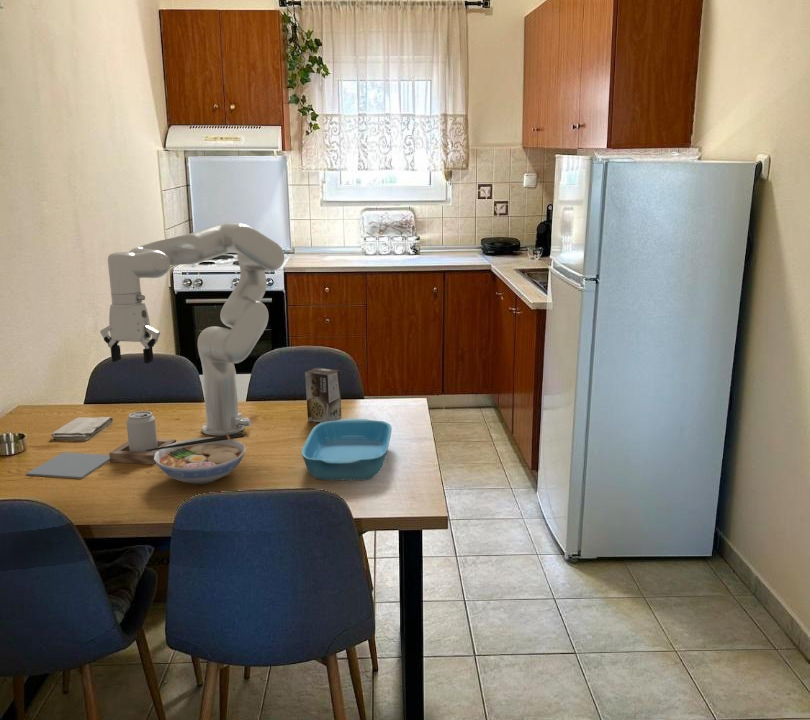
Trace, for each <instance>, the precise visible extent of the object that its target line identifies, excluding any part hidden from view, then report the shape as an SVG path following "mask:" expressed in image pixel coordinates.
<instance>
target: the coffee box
mask: <svg viewBox="0 0 810 720" xmlns="http://www.w3.org/2000/svg"><path fill="white" fill-rule="evenodd" d="M340 373H341V371H340V370H338V369H330V368H326V367H315V368H312V369H309V370H307V371H304V374H305V375H304V377H305V378H304V379H305V380H304V381H305V392H306V396H305V397H306V411H307V421H308V422H310V421H314V422H313V423H315V422H320V423H323V422H328V421H337V420H340V419H343V417H342V402H341V401H342V400H341V398H342V397H341V394H342V393H341V374H340ZM320 423H319V424H320Z"/></svg>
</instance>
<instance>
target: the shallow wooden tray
mask: <svg viewBox="0 0 810 720" xmlns="http://www.w3.org/2000/svg"><path fill="white" fill-rule="evenodd" d="M175 442H177V439H172V438H168V439H167V438H157V445H158V448H160V447H165V446H167V445H170V444H173V443H175ZM159 450H160V449H159ZM159 450H153V451H152V452H150V453H148V452H131V451H129V442H128V440H127V441H126V442H124V443H123V444H121V445H119V446H118V447H116V448H115V449H113V450H112V451H110V452H109V453H108V455H109V456H110V461H109V462H111V463H123V464H124V463H127V464H144V465H156V464H157V463H156V462H155V460H154V456H155V453H156V452H157V451H159Z"/></svg>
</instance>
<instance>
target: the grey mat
mask: <svg viewBox="0 0 810 720" xmlns="http://www.w3.org/2000/svg"><path fill="white" fill-rule="evenodd" d="M109 462H110V456H109V454H98V453H81V452H67V451H66V452H65V451H64V452H61V453H59V454H58V455H56V456H54V457H52V458H51V459H49V460H47V461H45V462H44V463H42V464H40V465H39V466H37V467H34V468H33V469H31V470H29V471H28V472H26V476H34V477H35V476H36V477H48V478H49V477H50V478H51V477H52V478H63V479H64V478H65V479H80V480H81V479H82V480H83V479H84V478H85V477H87V476H89V475H90V474H92V473H94V472H95V471H96V470H98V469H100V468H101V467H102V466H105V464H107V463H109Z"/></svg>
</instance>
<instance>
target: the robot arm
mask: <svg viewBox="0 0 810 720" xmlns="http://www.w3.org/2000/svg"><path fill="white" fill-rule="evenodd" d="M230 253H234V254H236V256H237V261H238V262H237V263H238V265H239V270H240V274H239V275H240V277H239V280H238V282H237V284H236V285H235V287H234V289H233V290H232V292H231V293H230V295H229V296H228V298H227V300H226V301H225V302H224V304H223V306H222V308H221V309H220V313H219V314H220V315H219V317H220V321H221V322H222V324H223V325H225V326H226V327H221V326H214V325H213V326H209V327H206V328H204V329H202V331H201V332H200V334H199V336H198V338H197V350H198V354H199V355H198V356H199V358H200V362H201V368H202V376H203V377H202V378H203V390H204V391H203V393H204V404H205V405H204V406H205V417H206V423H205V424H203V425H202V426H201V431H202V433H204V434H206V435H209V436H213V437H214V436H215V437H220V436H225V435H231V434H236V433H241V432H242V431H243V430H244V429H245V427H252V426H251V425H252V420H251V418H250V417H243V415H242V412H239V403H238V388H237V371H236V368H235V364H240V363H241V362H243V361H244V360H246V359H247V358H248V357H249V355H250V354H251V352H252V351H253V349H254V348H255V346H256V345H257V342H258V341H259V340H260V338H261V336H262V335H263V334H264V331H265V329H266V328H267V326H268V322H269V317H270V316H269V311H268V308H267V306H266V304H265V303H263V302H262V299H263V298H264V296H265V293H266V291H267V290H266V289H267V277H266V273H265V272H275V271H278V270H279V269H280V268H281V267H282V266H283V264H284V262H285V253H284V250H283V248H282V247H281V245H280V244H278V242H277V241H274V240H273V239H271V238H269V237H267V236H266V235H265V234H263V233H261V232H260V231H259V230H257V229H255V228H253V227H252V226H250V225H247V224H244V223H236V222H235V223H234V222H233V223H232V222H225V223H220V224H217V225H213V226H210V227H207V228H204V229H200V230H197V231H193V232H191V233H187V234H183V235H177V236H175V237H169V238H165V239H160V240H156V241H153V242H149V243H146V244H143V245H140V246H137V247H133V248H131V250H129V251H118V252H112V253H110V254H109V255H108V256H107V266H108V267H107V269H108V274H109V285H110V295H111V297H110V298H111V304H110V305H109V306H110V307H109V315H108V316H109V317H108V319H109V320H108V321H109V325H107V326H106V327H104V328H102V329H101V330H100V334H101V336H102V338H103V340H104V342H105V344H107V347H108V348H110V355H111V359H112V360H111V361H112V362H113V363H115V362H118V361H120V360H122V355H121V353H122V352H121V346H120V345H119V343H120V342H128V343H129V342H132V343H140V344H141V345H142V346H143V347H144V348H143V349H142V351H143V362H144V364H149V363H152V362H153V359H154V353H153V352H154V351H153V347H155V345H156V343H157V342H158V340H159V337H160V335H161V332H160V331H159V330H157V329H155V328H154V327H151V322H150V318H149V313H148V309H147V307H146V304H145V303H144V302H143V301H145V300H146V296H145V295H144V294H143V295H142V291H141V280H140V279H143V278H144V279H145V278H146V279H157V278H158V279H159V278H161V277H163V276H165V275H166V274H167V273H168V272H169V270H170V269H171V266H177V265H194V264H200V263H203V262H206V261H209V260H211V259H214V258H217V257H221V256H223V255H225V254H226V255H227V254H230ZM227 327H228V328H227Z"/></svg>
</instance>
